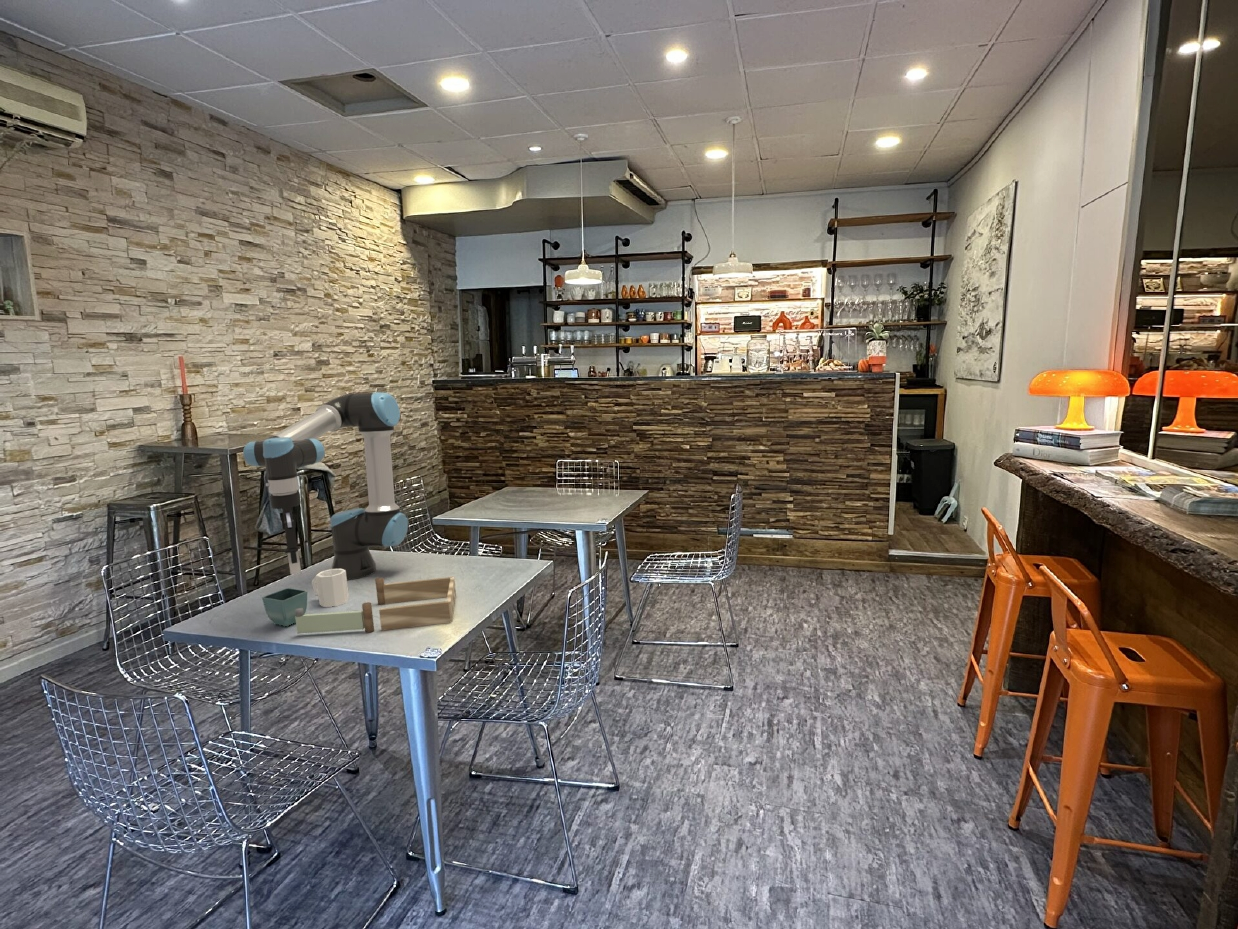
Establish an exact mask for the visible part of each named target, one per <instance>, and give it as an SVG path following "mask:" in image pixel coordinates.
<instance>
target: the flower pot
mask: <svg viewBox="0 0 1238 929" xmlns="http://www.w3.org/2000/svg"><path fill="white" fill-rule="evenodd" d="M261 599H262V603H263V606H264V610H265V613H266V615H267V617H268V618H269V620H270V621H271V622H272V623H273V624H274V623H275V624H274V625H276V624H279V625H278V626H281V625H283V626H282V627H285V626H287V627H289V626H288V625H290V626H291V624H292V625H293V623H294V624H296V619H295V616H296V614H295V609H298V608H303V612H304V614H306V611H307V608H308V590H306V589H305V590H304V589H297V588H291V587H285V588H284V589H280V590H278V591H275V592H273V593H271V594H268V595H265V596H262V597H261Z"/></svg>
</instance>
